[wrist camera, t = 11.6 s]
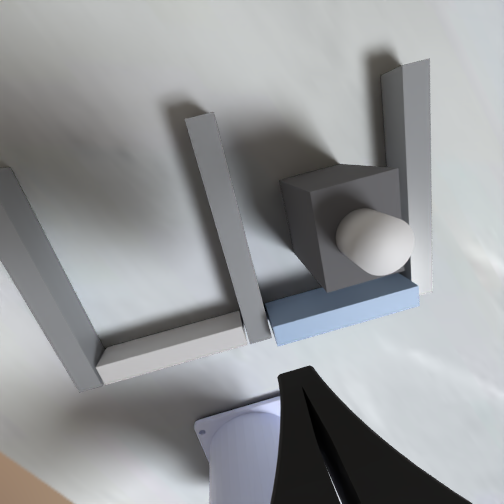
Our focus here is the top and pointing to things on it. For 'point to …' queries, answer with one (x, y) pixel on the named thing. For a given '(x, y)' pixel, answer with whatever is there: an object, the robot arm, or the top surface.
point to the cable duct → (232, 259)
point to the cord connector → (347, 223)
